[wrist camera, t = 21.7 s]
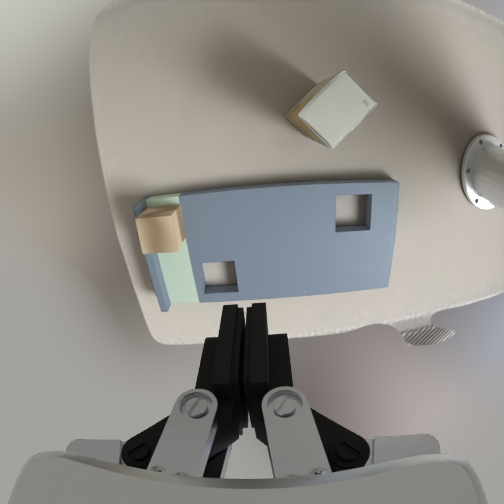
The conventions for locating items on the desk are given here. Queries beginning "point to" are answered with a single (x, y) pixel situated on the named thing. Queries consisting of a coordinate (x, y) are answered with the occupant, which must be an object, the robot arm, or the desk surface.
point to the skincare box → (332, 109)
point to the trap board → (276, 241)
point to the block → (161, 229)
